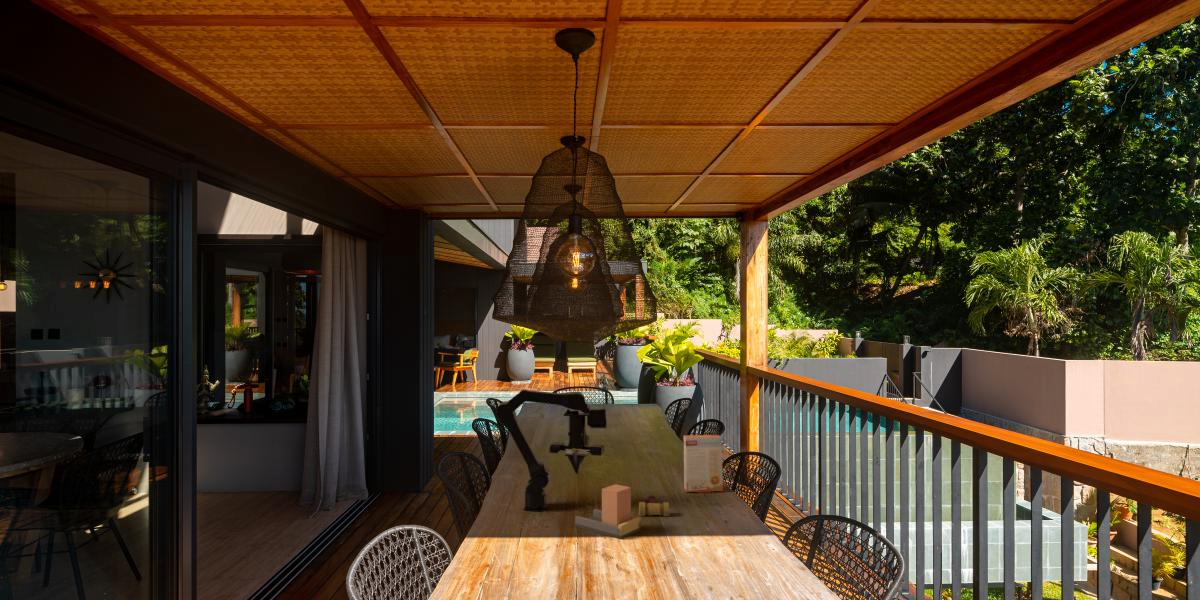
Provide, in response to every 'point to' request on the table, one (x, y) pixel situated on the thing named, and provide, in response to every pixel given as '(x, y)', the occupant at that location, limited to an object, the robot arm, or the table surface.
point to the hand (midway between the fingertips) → (577, 473)
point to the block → (616, 504)
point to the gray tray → (608, 525)
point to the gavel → (653, 508)
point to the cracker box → (703, 463)
